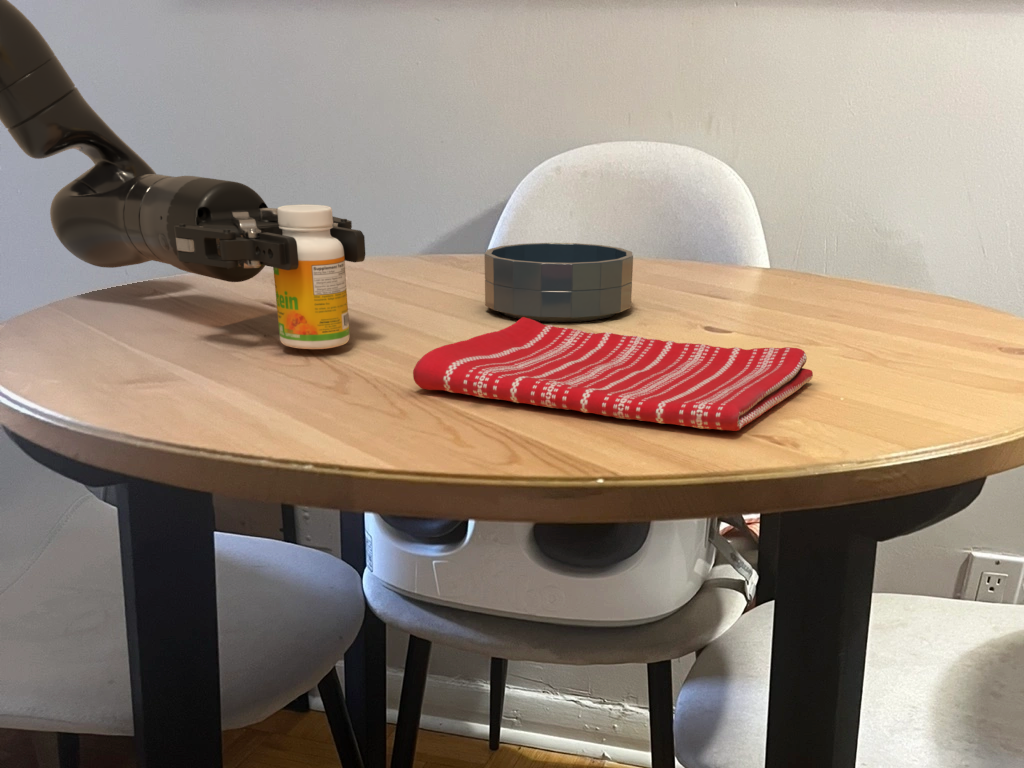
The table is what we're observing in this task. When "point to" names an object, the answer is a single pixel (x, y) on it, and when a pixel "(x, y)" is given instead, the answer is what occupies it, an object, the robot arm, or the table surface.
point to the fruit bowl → (558, 281)
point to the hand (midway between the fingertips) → (327, 250)
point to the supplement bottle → (312, 281)
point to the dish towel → (617, 375)
